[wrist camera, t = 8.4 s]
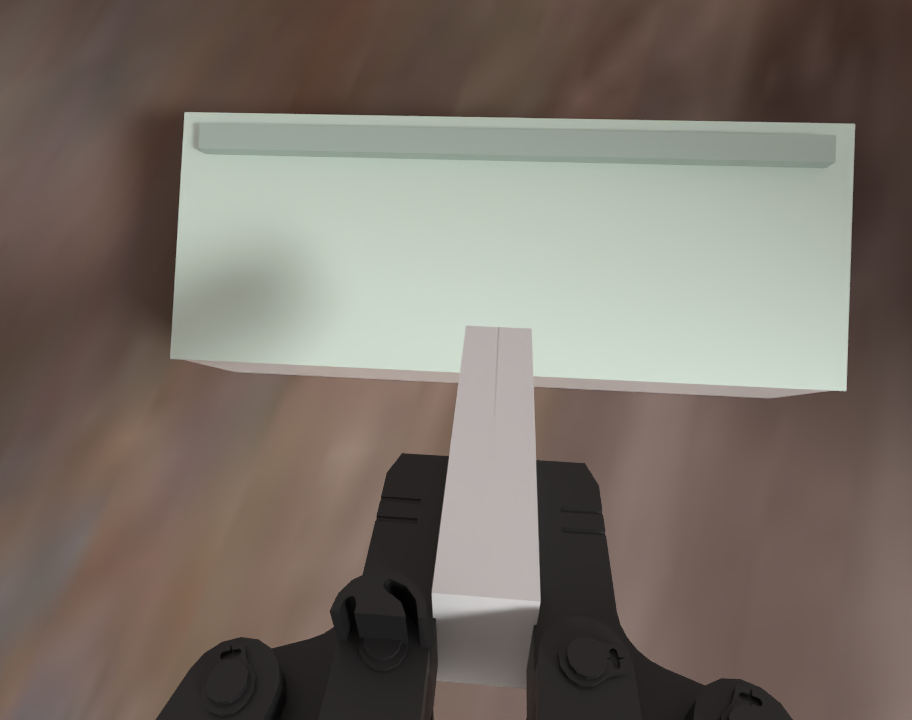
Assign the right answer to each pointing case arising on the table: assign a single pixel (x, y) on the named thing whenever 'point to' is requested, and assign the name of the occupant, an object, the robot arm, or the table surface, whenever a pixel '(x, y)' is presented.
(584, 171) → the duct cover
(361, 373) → the cable duct
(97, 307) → the table surface
